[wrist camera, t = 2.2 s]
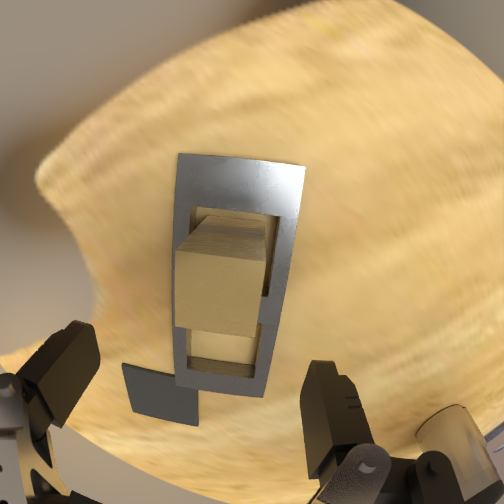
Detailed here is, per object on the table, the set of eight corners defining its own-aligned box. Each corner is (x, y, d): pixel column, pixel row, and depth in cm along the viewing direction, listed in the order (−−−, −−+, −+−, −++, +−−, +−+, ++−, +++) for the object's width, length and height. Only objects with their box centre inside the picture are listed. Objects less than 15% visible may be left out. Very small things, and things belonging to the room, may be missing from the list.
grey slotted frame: (301, 166, 21) (305, 166, 19) (263, 384, 28) (262, 397, 26) (185, 153, 20) (178, 153, 19) (180, 372, 27) (175, 385, 26)
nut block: (264, 221, 22) (266, 261, 14) (257, 274, 24) (254, 337, 15) (208, 215, 22) (175, 250, 14) (204, 267, 23) (174, 326, 15)
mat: (198, 379, 28) (197, 381, 27) (198, 424, 31) (198, 426, 30) (122, 362, 28) (121, 364, 27) (133, 409, 30) (132, 411, 30)
